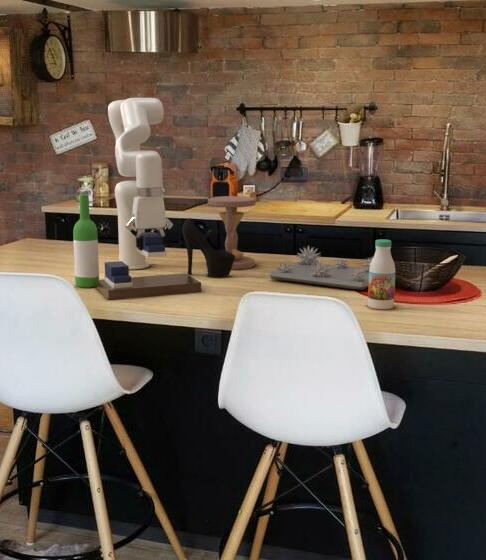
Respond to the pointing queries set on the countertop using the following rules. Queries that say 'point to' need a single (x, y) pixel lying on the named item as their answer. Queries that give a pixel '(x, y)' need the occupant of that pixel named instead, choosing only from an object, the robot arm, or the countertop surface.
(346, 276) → the decorative tray
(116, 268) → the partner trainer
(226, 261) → the high-heeled shoe
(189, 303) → the countertop surface
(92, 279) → the wine bottle
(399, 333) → the countertop surface
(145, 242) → the blue pale-edged block
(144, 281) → the dark brown flat board
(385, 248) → the milk bottle
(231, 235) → the hourglass
